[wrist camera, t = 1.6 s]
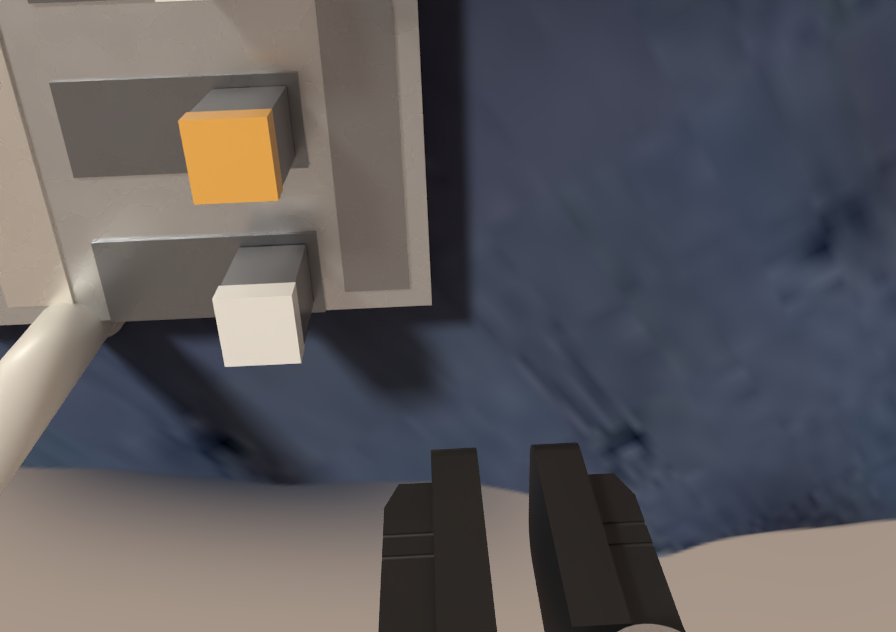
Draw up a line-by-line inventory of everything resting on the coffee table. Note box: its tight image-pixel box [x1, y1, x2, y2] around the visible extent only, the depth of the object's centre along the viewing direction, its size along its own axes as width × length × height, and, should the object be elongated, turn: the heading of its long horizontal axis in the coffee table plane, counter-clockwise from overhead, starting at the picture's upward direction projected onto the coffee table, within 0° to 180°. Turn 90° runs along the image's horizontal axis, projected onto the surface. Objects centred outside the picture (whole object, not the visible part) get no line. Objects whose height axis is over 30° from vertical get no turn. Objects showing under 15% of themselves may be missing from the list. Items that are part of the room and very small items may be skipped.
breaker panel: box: [0, 0, 432, 325], centre depth 35 cm, size 24×18×3 cm
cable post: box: [0, 303, 125, 495], centre depth 35 cm, size 4×4×14 cm
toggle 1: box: [178, 86, 295, 205], centre depth 31 cm, size 3×3×5 cm
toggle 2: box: [212, 245, 313, 367], centre depth 35 cm, size 3×3×5 cm
